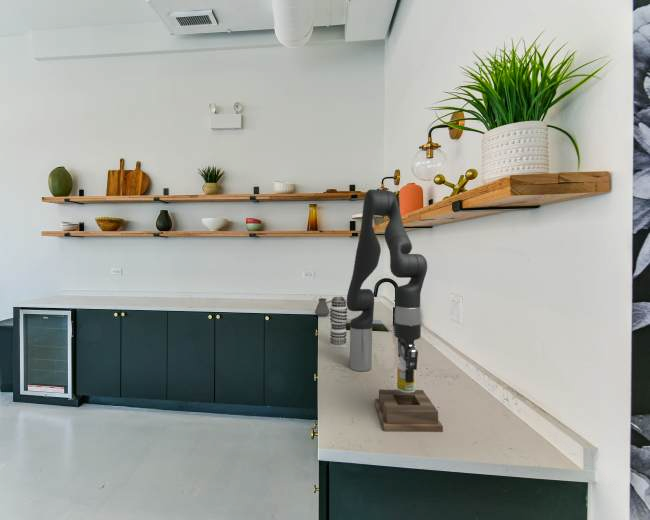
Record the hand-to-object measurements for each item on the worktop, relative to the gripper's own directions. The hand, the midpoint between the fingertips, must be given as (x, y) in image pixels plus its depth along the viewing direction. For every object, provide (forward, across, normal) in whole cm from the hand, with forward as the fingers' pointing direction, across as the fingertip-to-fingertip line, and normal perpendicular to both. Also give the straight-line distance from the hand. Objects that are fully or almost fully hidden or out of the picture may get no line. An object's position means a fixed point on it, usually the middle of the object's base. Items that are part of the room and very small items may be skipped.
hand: (406, 377), depth 95 cm
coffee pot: (+12, -150, -21) cm, 152 cm away
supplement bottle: (+4, 0, 0) cm, 4 cm away
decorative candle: (+12, -73, -17) cm, 76 cm away
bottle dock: (+12, 0, 0) cm, 12 cm away
